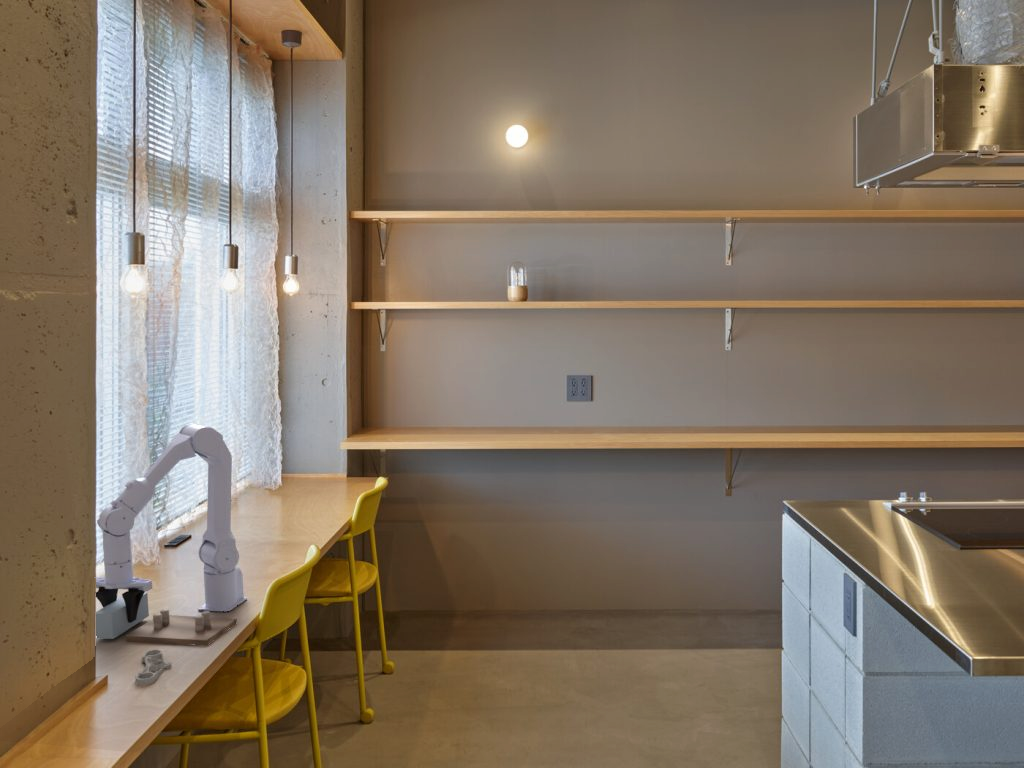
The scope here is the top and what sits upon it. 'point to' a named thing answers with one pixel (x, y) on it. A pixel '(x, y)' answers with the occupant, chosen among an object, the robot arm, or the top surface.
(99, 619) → the pale blue rectangular block
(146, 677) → the bracket
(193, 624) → the peg stand
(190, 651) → the top surface
